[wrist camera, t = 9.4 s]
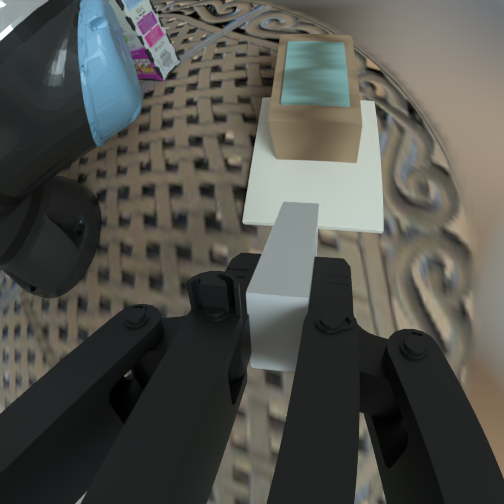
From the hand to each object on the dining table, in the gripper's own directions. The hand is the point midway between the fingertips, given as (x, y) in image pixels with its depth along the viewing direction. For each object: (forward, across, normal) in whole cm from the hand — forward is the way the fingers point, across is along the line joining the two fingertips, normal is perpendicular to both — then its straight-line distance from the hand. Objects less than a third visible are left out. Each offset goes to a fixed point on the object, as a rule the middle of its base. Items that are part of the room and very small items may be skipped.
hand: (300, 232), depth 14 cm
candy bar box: (+33, -26, +12) cm, 44 cm away
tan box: (+17, 0, +1) cm, 17 cm away
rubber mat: (+20, 0, 0) cm, 20 cm away
